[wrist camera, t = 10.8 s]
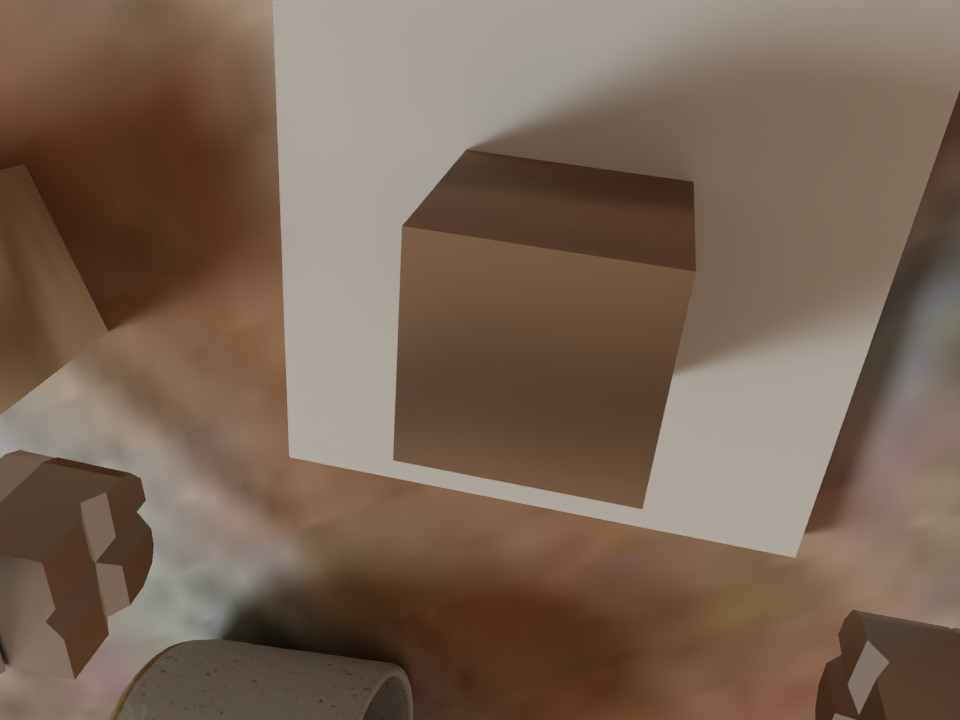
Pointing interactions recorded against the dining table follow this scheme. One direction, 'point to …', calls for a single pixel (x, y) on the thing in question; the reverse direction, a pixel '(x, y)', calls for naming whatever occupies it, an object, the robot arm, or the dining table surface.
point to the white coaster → (634, 149)
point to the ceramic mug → (263, 685)
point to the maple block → (37, 293)
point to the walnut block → (542, 323)
